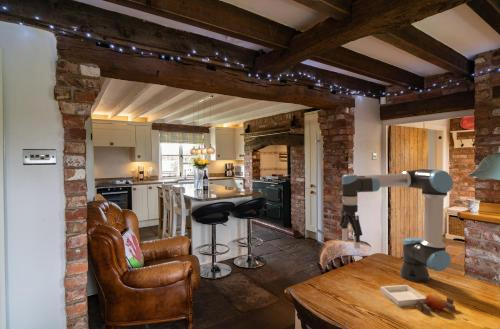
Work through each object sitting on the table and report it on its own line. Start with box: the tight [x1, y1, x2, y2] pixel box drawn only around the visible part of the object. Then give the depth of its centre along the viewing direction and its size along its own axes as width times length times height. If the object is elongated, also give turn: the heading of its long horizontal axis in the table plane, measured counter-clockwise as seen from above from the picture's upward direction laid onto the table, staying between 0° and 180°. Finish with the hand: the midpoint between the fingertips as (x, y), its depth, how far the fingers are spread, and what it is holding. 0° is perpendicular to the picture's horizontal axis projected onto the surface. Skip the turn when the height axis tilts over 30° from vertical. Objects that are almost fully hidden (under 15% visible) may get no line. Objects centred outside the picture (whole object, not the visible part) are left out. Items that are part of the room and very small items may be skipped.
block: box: [415, 297, 456, 315], centre depth 132 cm, size 16×6×4 cm, turn 97°
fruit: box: [425, 293, 446, 313], centre depth 132 cm, size 8×8×8 cm
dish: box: [380, 284, 426, 308], centre depth 143 cm, size 15×15×3 cm
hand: (350, 244), depth 147 cm, fingers open, 13 cm apart
